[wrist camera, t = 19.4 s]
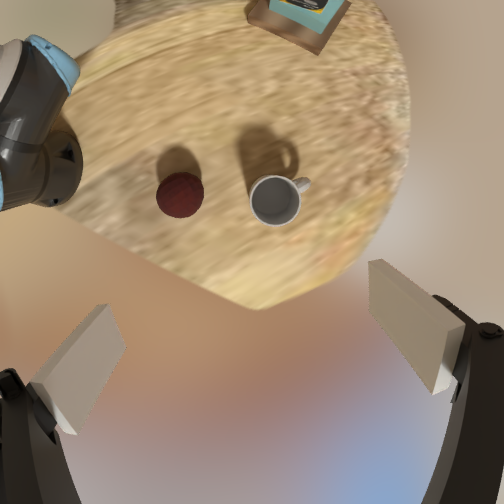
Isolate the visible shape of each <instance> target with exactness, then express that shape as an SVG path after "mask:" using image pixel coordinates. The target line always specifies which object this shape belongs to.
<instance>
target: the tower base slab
mask: <svg viewBox="0 0 504 504" xmlns="http://www.w3.org/2000/svg"><path fill="white" fill-rule="evenodd" d="M351 4H352V3H351V2H349V1H347V0H344V2H343V3H342V5H341V6H340V8H339V9H338V10H337V12H336V13H335V15H334V16H333V18H332V19H331V20H330V22H329V23H328V25H327V26H326V28H325V29H324V31H323V32H322V34H319V33H317V32H315V31H313V30H311V29H309V28H308V27H306V26H304V25H302V24H300V23H298V22H296V21H294V20H292V19H289V18H287V17H285V16H283V15H281V14H279V13H276V12H274V11H272V10H269V5H270V0H259V1H258V3H257V4H256V5H255V6H254V8H253V9H252V10H251V12H250V13H249V14H248V23H249V24H252V25H254V26H257V27H259V28H262V29H264V30H266V31H269V32H271V33H273V34H275V35H278V36H280V37H282V38H284V39H286V40H288V41H290V42H292V43H294V44H296V45H298V46H300V47H302V48H304V49H306V50H308V51H310V52H312V53H314V54H315V55H317V56H318V55H319V54H320V52H321V51H322V49H323V48H324V46H325V44H326V43H327V41H328V40H329V38H330V36H331V35H332V33H333V32H334V30H335V28H336V27H337V25H338V24H339V22H340V21H341V19H342V17H343V16H344V14H345V13H346V11H347V10H348V8H349V7H350V5H351Z"/></svg>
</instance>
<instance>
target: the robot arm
mask: <svg viewBox="0 0 504 504" xmlns="http://www.w3.org/2000/svg"><path fill="white" fill-rule="evenodd" d="M79 75H80V67H79V65H78V63H77V62H76V61H75V60H74V59H73V58H71V57H70V56H69V55H68V54H67V53H65V52H64V51H63V50H61V49H60V48H58V47H57V46H55V45H52V44H51V43H50V42H48V41H46V40H45V39H44V38H42V37H40V36H37V35H30V36H29V37H28V38H26V39H25V41H21V40H19V39H14V40H12V41H10V42H8V43H6V44H4V45H0V212H1V211H4V210H7V209H11V208H14V207H18V206H21V205H25V204H28V203H32V204H36V205H39V206H43V207H54V206H58V205H61V204H63V203H65V202H66V201H68V200H69V199H70V198H71V197H72V196H73V194H74V193H75V191H76V190H77V188H78V185H79V183H80V180H81V176H82V170H83V160H82V153H81V150H80V147H79V145H78V143H77V141H76V140H75V139H74V138H73V137H72V136H71V135H70V134H68V133H66V132H63V131H50V130H51V128H52V126H53V123H54V121H55V119H56V118H57V116H58V114H59V112H60V110H61V108H62V106H63V104H64V102H65V101H66V99H67V97H69V96H70V95H71V90H72V88H73V87H74V85H75V83H76V81H77V80H78V78H79ZM368 267H369V312H370V313H371V314H372V316H373V317H374V318H375V320H376V321H377V322H378V323H379V325H380V326H381V327H382V329H383V330H384V331H385V332H386V334H387V335H388V336H389V337H390V339H391V340H392V341H393V343H394V344H395V345H396V347H397V348H398V349H399V351H400V352H401V353H402V355H403V356H404V357H405V359H406V360H407V361H408V363H409V364H410V365H411V367H412V368H413V369H414V371H415V372H416V374H417V375H418V376H419V378H420V379H421V380H422V382H423V383H424V385H425V386H426V387H427V389H428V390H429V392H430V393H431V394H432V395H434V394H436V393H438V392H440V391H443V390H445V389H447V388H449V385H450V382H451V379H452V376H454V377H455V378H456V379H457V381H458V383H457V386H456V389H455V392H454V394H453V398H452V400H451V403H453V405H452V410H451V414H450V419H449V423H448V427H447V431H446V434H445V438H444V442H443V445H442V449H441V452H440V455H439V458H438V461H437V464H436V467H435V470H434V473H433V476H432V478H431V481H430V484H429V486H428V489H427V491H426V494H425V496H424V498H423V501H422V503H421V504H496V500H497V496H498V492H499V488H500V483H501V478H502V472H503V466H504V330H503V329H502V328H501V327H500V326H498V325H496V324H494V323H488V322H486V323H480V324H477V323H476V322H475V321H474V320H473V319H471V318H470V317H469V316H467V315H466V314H465V313H464V312H462V311H461V310H459V308H457V307H456V306H455V305H454V306H453V304H452V303H451V302H450V301H448V300H447V299H445V298H443V297H440V296H438V295H433V296H431V295H429V294H428V293H427V292H426V291H424V290H423V289H422V288H420V287H419V286H418V285H417V284H415V283H414V282H413V281H411V280H410V279H409V278H407V277H406V276H405V275H403V274H402V273H401V272H399V271H398V270H397V269H395V268H394V267H393V266H391V265H390V264H388V263H387V262H386V261H384V260H383V259H379V260H374V261H369V262H368ZM125 350H126V345H125V343H124V341H123V338H122V336H121V333H120V331H119V328H118V326H117V323H116V321H115V318H114V316H113V313H112V310H111V307H110V305H109V304H102V305H97V306H96V307H95V308H94V309H93V310H92V312H90V314H89V315H88V316H87V317H86V318H85V319H84V320H83V321H82V322H81V323H80V324H79V325H78V326H77V328H76V329H75V330H74V331H73V332H72V333H71V334H70V335H69V336H68V338H66V340H65V341H64V342H63V343H62V344H61V345H60V346H59V347H58V349H57V350H56V351H55V352H54V353H53V354H52V356H51V357H50V358H49V359H48V360H47V361H46V362H45V364H44V365H43V366H42V367H41V368H40V370H39V371H38V372H37V373H36V374H35V376H34V377H33V378H32V379H31V381H30V382H29V383H28V384H27V386H26V387H25V385H24V384H23V382H22V380H21V379H20V377H19V375H18V374H17V373H16V370H15V369H13V368H9V369H5V370H3V371H1V372H0V395H1V396H2V398H1V399H0V504H81V501H80V499H79V496H78V494H77V491H76V488H75V486H74V483H73V480H72V477H71V475H70V472H69V469H68V466H67V463H66V459H65V456H64V452H63V449H62V446H61V442H60V438H59V434H58V433H57V431H56V430H55V426H56V424H57V423H58V424H59V426H60V427H61V428H62V430H63V431H64V432H65V433H69V434H74V435H78V434H79V433H80V431H81V429H82V427H83V425H84V423H85V421H86V419H87V417H88V415H89V414H90V412H91V409H92V408H93V406H94V404H95V402H96V401H97V399H98V397H99V395H100V393H101V391H102V389H103V388H104V386H105V384H106V382H107V381H108V379H109V377H110V375H111V374H112V372H113V370H114V368H115V367H116V365H117V363H118V361H119V360H120V358H121V356H122V355H123V353H124V351H125Z"/></svg>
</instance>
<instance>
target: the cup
mask: <svg viewBox="0 0 504 504" xmlns="http://www.w3.org/2000/svg"><path fill="white" fill-rule="evenodd" d="M310 185H311V181H310V179H308V178H307V177H301V178H297V179H295V180H293V181H291V180H290V179H287V178H285V177H283V176H277V175H265V176H262V177H260V178H258V179H257V180H256V181H255V182H254V183H253V184H252V186H251V188H250V192H249V201H250V208H251V210H252V213H253V214H254V216H255V217H256V219H258V220H259V221H260V222H261V223H263V224H265V225H267V226H272V227H278V226H283V225H286V224H288V223H289V222H291V221H292V220H293V219H294V218H295V217H296V216H297V214H298V212H299V210H300V207H301V195H300V193H302V192H304V191H305V190H307V189H308V188H309V187H310Z"/></svg>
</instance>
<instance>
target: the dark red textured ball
mask: <svg viewBox="0 0 504 504" xmlns="http://www.w3.org/2000/svg"><path fill="white" fill-rule="evenodd" d="M203 198H204V188H203V185H202V183H201V181H200V180H199V179H198V178H197V177H196V176H194V175H192V174H189V173H187V172H183V173H174V174H172V175H170V176H168V177H167V178H166V179H164V180H163V181H162V183H161V184H160V185H159V187H158V190H157V193H156V199H157V204H158V206H159V208H160V209H161V210H162V211H163V212H164V213H165V214H167V215H169V216H172V217H175V218H185V217H189V216H191V215H193V214H195V212H196V211H197V210H198V209H199V208H200V206H201V204H202V201H203Z"/></svg>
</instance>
